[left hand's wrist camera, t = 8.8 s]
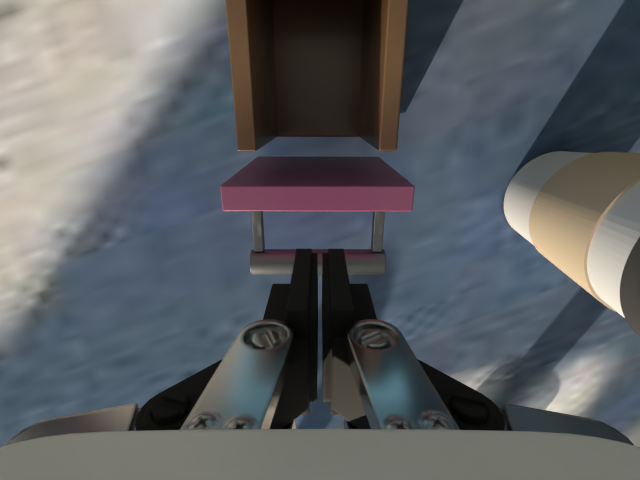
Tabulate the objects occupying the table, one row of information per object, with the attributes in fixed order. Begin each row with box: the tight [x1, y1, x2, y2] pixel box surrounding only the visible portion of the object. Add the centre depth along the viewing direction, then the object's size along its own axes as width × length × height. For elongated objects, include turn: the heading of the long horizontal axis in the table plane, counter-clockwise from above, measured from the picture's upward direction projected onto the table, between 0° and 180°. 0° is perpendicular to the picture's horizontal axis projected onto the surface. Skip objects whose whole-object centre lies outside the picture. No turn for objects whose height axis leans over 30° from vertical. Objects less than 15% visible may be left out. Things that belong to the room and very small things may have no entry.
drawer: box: [220, 0, 415, 275], centre depth 18 cm, size 22×9×10 cm, turn 0°
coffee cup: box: [504, 151, 640, 336], centre depth 19 cm, size 9×9×15 cm
